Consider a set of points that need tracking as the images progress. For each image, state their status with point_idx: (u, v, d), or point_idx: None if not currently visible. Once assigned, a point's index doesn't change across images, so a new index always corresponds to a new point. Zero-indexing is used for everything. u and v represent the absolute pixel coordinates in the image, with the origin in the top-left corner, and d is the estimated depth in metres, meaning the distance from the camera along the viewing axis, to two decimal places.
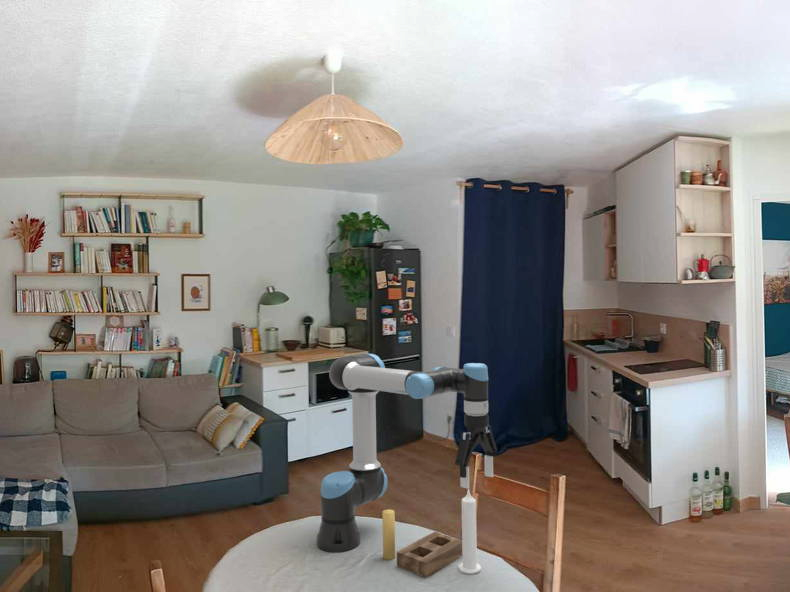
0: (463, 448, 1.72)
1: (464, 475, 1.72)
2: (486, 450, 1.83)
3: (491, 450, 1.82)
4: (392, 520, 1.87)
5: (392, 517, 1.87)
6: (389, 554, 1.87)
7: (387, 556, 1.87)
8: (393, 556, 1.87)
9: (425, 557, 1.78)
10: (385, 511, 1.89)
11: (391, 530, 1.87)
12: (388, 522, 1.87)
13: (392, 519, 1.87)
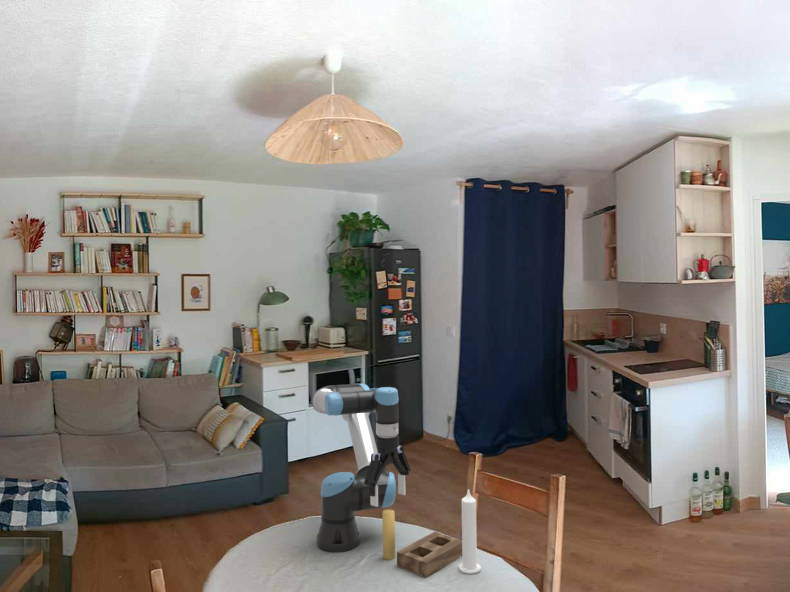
0: (372, 468, 1.82)
1: (373, 494, 1.82)
2: (399, 469, 1.93)
3: (404, 469, 1.93)
4: (392, 520, 1.87)
5: (392, 517, 1.87)
6: (389, 554, 1.87)
7: (387, 556, 1.87)
8: (393, 556, 1.87)
9: (425, 557, 1.78)
10: (385, 511, 1.89)
11: (391, 530, 1.87)
12: (388, 522, 1.87)
13: (392, 519, 1.87)
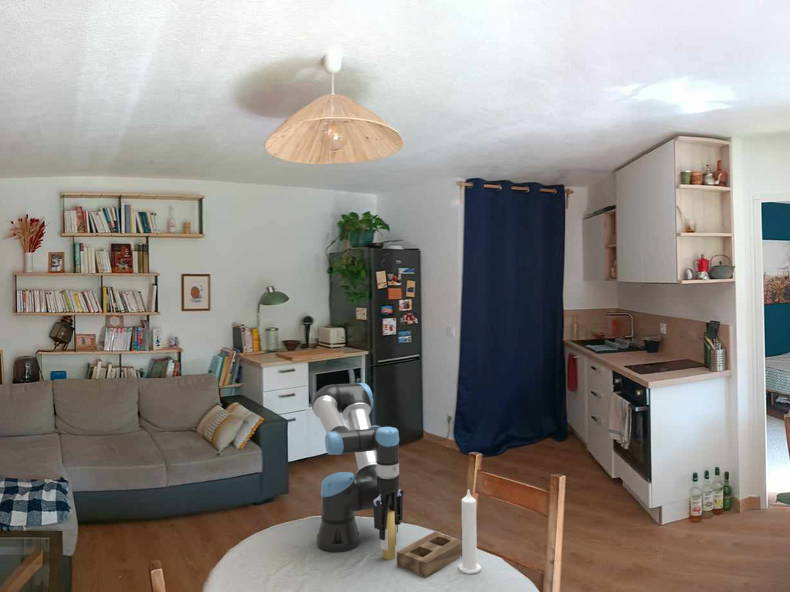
0: (377, 514, 1.84)
1: (383, 538, 1.86)
2: None
3: (397, 517, 1.90)
4: (392, 520, 1.87)
5: (392, 517, 1.87)
6: (389, 554, 1.87)
7: (387, 556, 1.87)
8: (393, 556, 1.87)
9: (425, 557, 1.78)
10: None
11: (391, 529, 1.87)
12: (388, 522, 1.87)
13: (392, 519, 1.87)
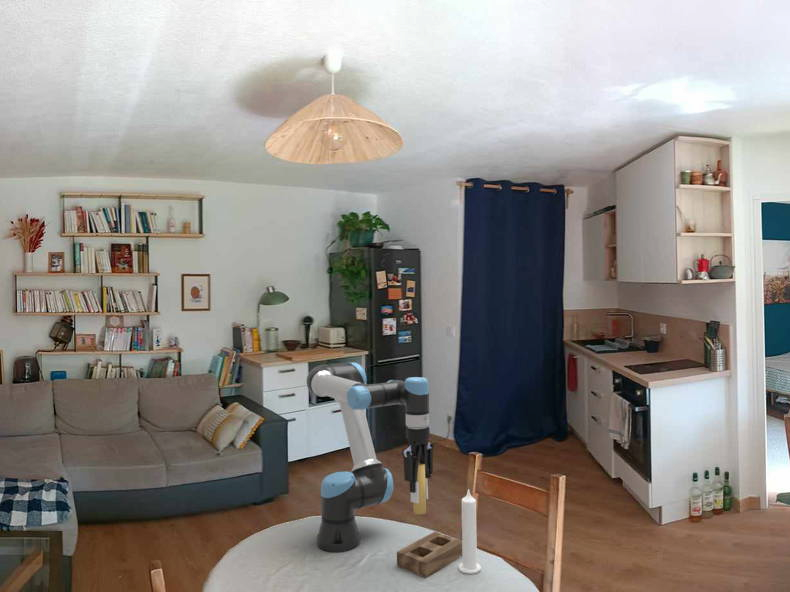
0: (407, 465, 1.78)
1: (413, 490, 1.79)
2: None
3: (427, 470, 1.84)
4: (423, 473, 1.81)
5: (423, 469, 1.81)
6: (420, 509, 1.80)
7: (418, 510, 1.80)
8: (424, 511, 1.81)
9: (425, 557, 1.78)
10: None
11: (422, 483, 1.81)
12: (418, 475, 1.80)
13: (423, 472, 1.81)
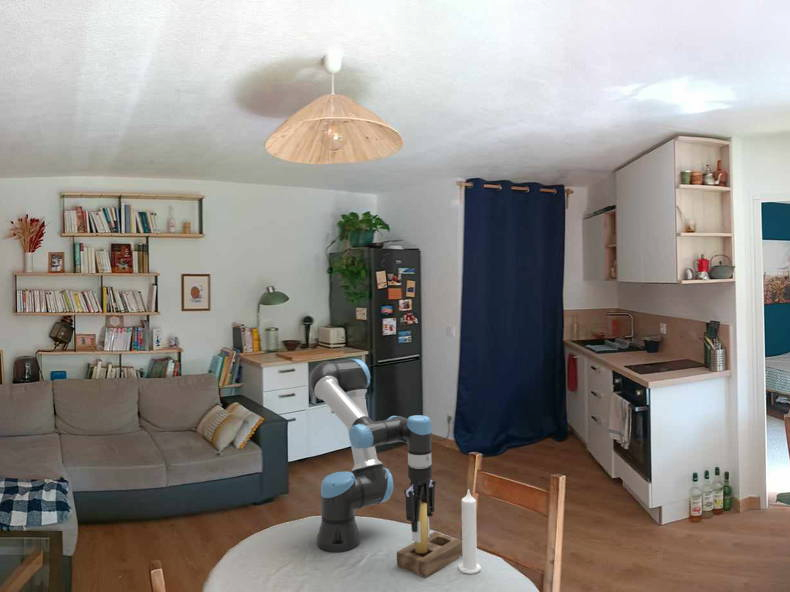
0: (410, 505, 1.78)
1: (415, 530, 1.79)
2: None
3: (429, 509, 1.84)
4: (425, 512, 1.81)
5: (425, 509, 1.81)
6: (422, 548, 1.80)
7: (419, 549, 1.80)
8: (426, 549, 1.81)
9: (425, 557, 1.78)
10: None
11: (424, 522, 1.81)
12: (420, 514, 1.80)
13: (425, 511, 1.81)
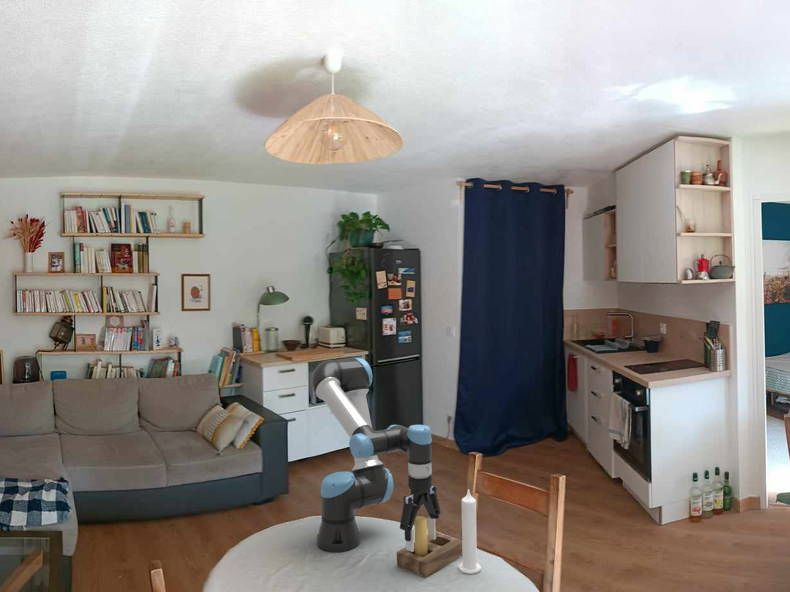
0: (406, 513, 1.76)
1: (409, 539, 1.77)
2: (429, 512, 1.86)
3: (434, 512, 1.86)
4: (425, 527, 1.81)
5: (425, 524, 1.81)
6: None
7: None
8: None
9: (425, 557, 1.78)
10: (417, 518, 1.83)
11: (424, 537, 1.81)
12: (420, 529, 1.80)
13: (425, 526, 1.81)
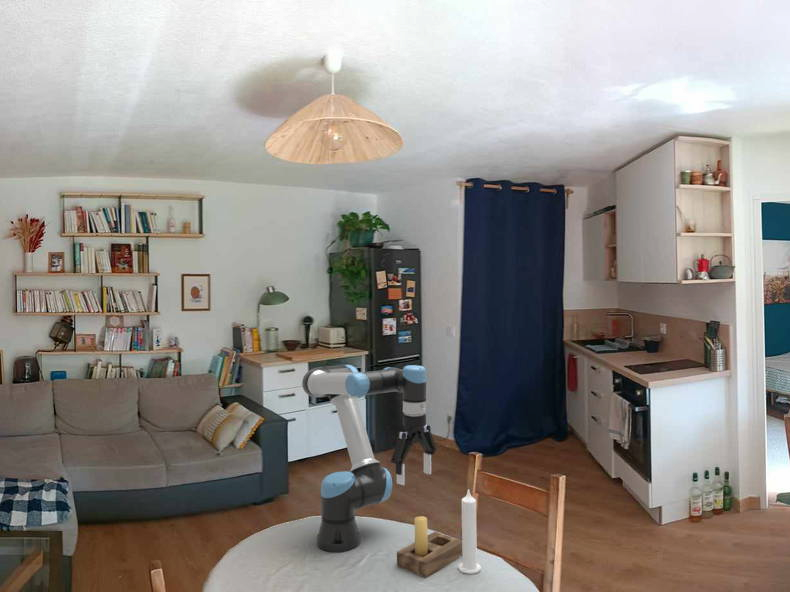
0: (399, 447, 1.80)
1: (399, 472, 1.80)
2: (425, 448, 1.91)
3: (430, 448, 1.90)
4: (425, 527, 1.81)
5: (425, 524, 1.81)
6: None
7: None
8: None
9: (425, 557, 1.78)
10: (417, 518, 1.83)
11: (424, 537, 1.81)
12: (420, 529, 1.80)
13: (425, 526, 1.81)
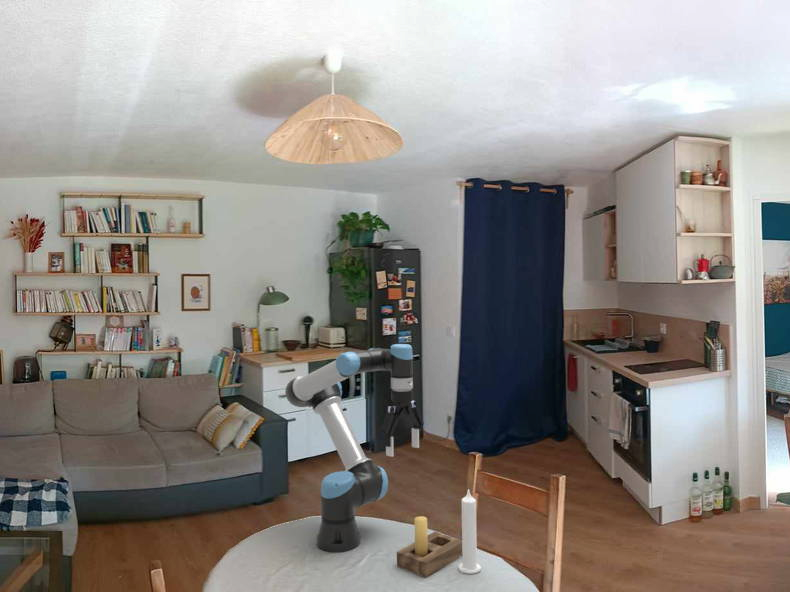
0: (388, 420, 1.90)
1: (388, 444, 1.90)
2: (413, 423, 2.01)
3: (417, 423, 2.00)
4: (425, 527, 1.81)
5: (425, 524, 1.81)
6: None
7: None
8: None
9: (425, 557, 1.78)
10: (417, 518, 1.83)
11: (424, 537, 1.81)
12: (420, 529, 1.80)
13: (425, 526, 1.81)
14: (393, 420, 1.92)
